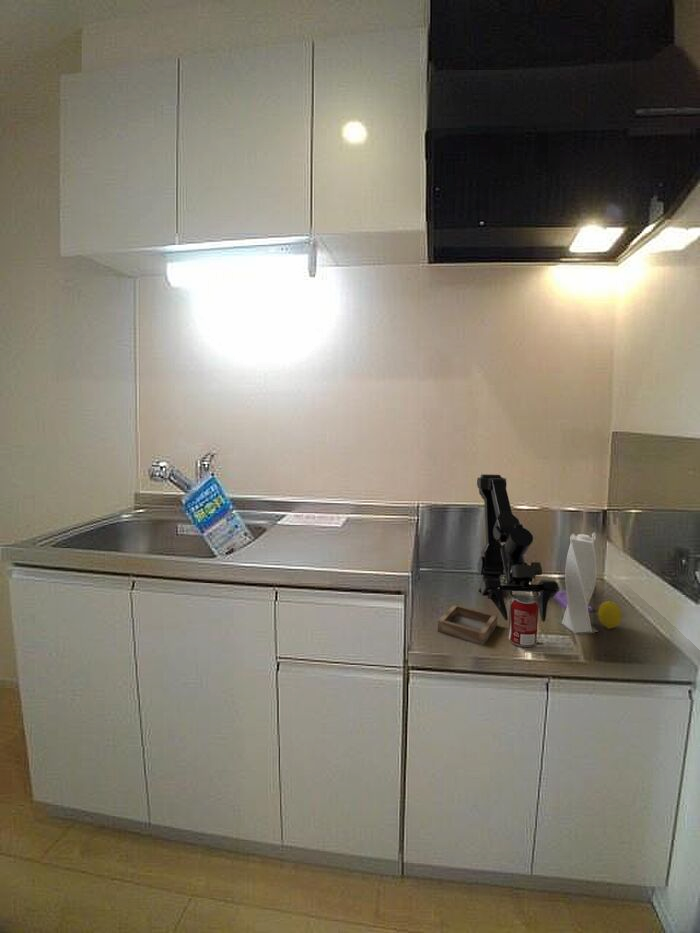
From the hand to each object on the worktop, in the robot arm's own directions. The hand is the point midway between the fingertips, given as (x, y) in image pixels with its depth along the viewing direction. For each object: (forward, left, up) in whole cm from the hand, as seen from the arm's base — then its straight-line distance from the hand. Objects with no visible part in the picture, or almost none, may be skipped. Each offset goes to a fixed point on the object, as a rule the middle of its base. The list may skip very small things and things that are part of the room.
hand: (525, 620), depth 108 cm
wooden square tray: (0, -15, -7) cm, 16 cm away
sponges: (-34, +6, -7) cm, 35 cm away
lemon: (-22, +17, -7) cm, 29 cm away
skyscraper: (-17, +10, -7) cm, 21 cm away
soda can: (-1, -1, -7) cm, 7 cm away
